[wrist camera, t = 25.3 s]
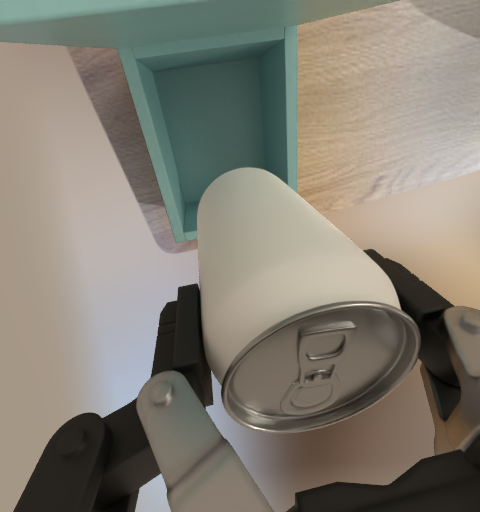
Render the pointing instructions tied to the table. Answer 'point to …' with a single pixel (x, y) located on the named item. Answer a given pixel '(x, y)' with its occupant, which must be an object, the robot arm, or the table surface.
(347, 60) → the table surface
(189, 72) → the teal open box
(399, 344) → the can
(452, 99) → the table surface
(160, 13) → the lid
